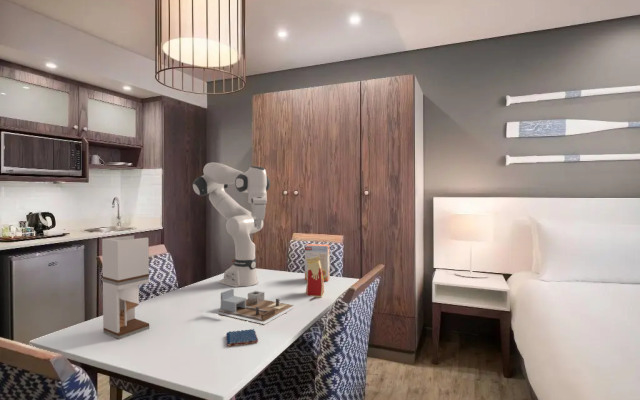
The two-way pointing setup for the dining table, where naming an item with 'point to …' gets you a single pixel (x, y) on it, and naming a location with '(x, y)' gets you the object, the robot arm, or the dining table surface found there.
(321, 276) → the milk carton
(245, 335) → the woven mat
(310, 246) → the cracker box
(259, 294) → the block
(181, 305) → the dining table surface
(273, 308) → the base
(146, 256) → the coffee grinder
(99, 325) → the dining table surface
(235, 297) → the cover
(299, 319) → the dining table surface
